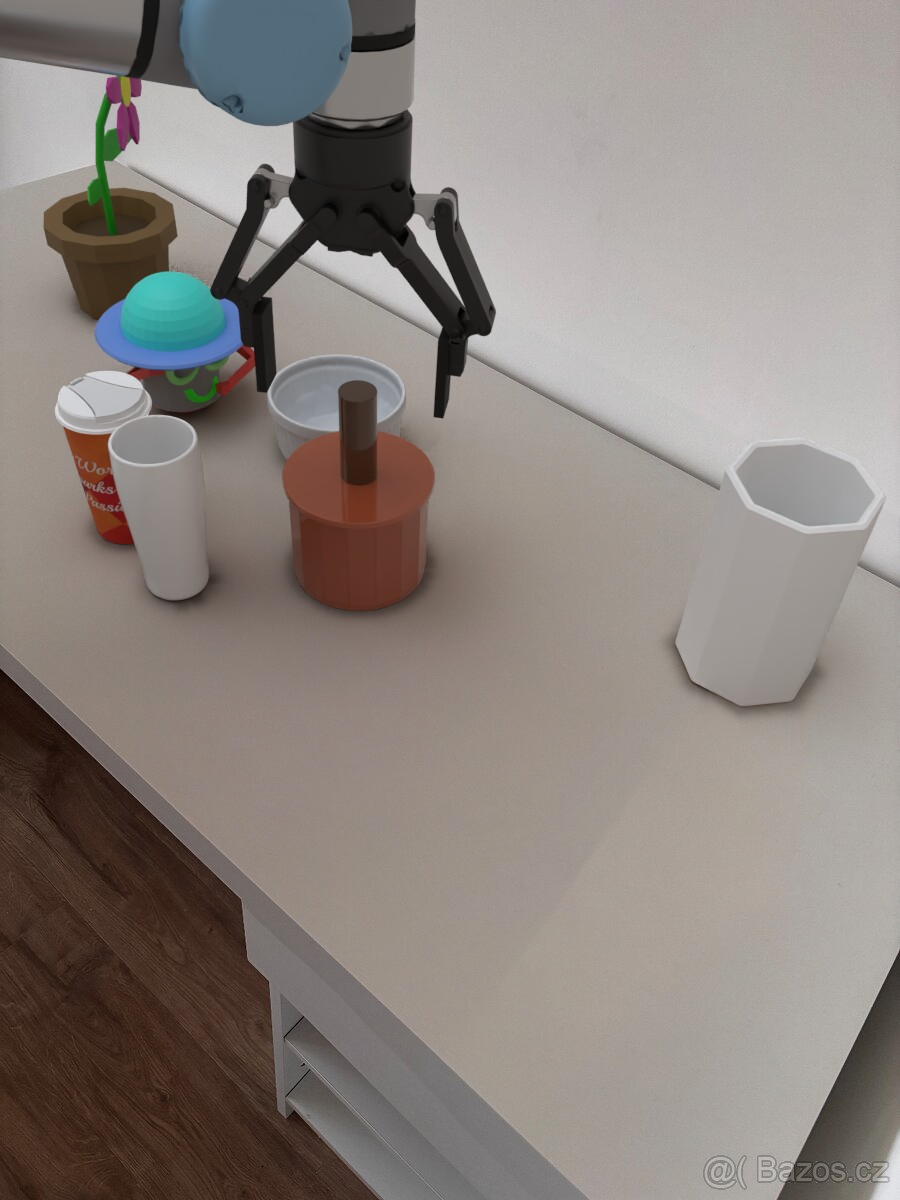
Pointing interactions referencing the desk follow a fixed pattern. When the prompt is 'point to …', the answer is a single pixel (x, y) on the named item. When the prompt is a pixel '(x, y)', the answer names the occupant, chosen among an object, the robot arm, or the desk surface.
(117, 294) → the flowerpot
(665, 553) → the desk surface
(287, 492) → the lid
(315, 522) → the jar
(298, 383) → the ramekin
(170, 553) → the white plastic tumbler
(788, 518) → the cup
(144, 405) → the paper cup
